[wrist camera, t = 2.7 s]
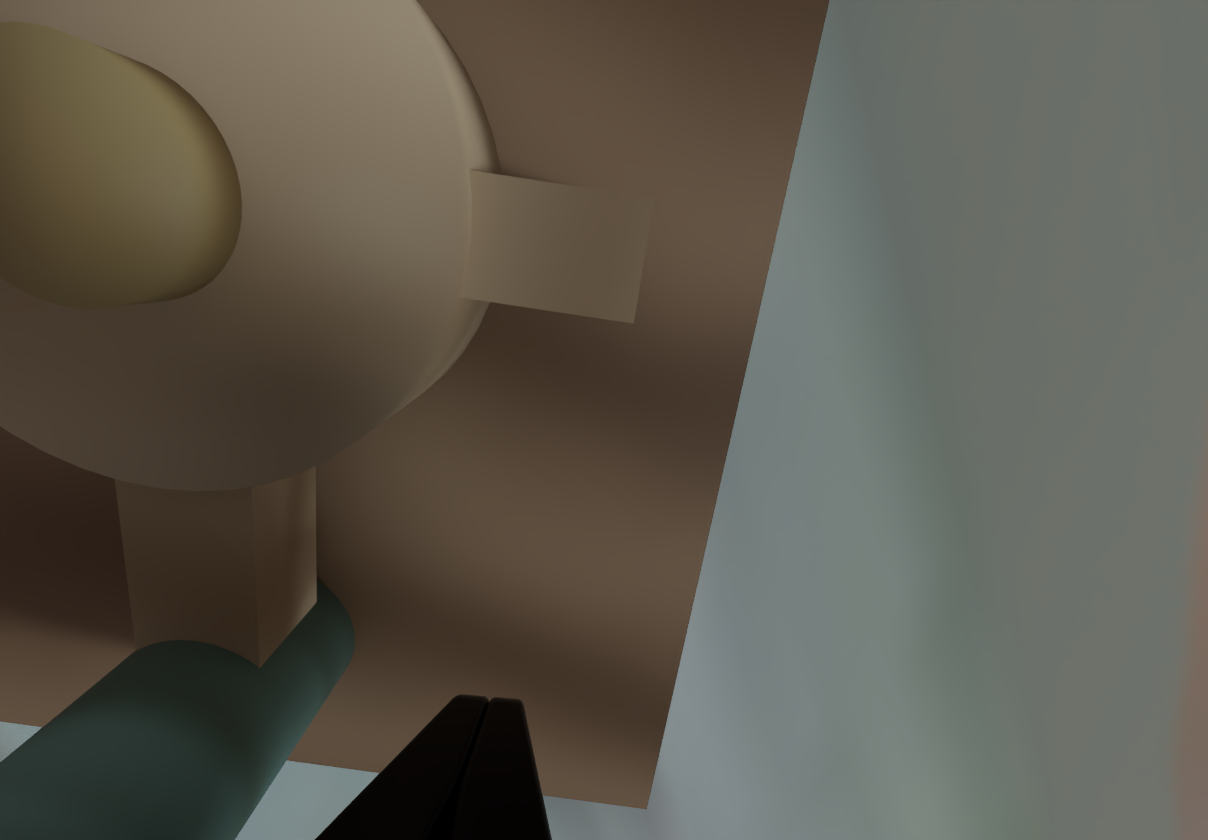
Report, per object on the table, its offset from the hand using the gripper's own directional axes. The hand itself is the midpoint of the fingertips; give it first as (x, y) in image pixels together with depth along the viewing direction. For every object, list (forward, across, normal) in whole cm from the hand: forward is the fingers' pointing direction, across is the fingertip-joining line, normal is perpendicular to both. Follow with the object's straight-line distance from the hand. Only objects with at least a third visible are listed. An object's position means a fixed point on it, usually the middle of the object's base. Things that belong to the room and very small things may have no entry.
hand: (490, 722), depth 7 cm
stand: (+4, +5, -5) cm, 8 cm away
